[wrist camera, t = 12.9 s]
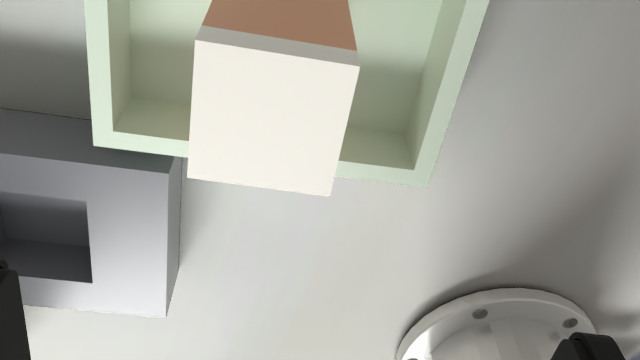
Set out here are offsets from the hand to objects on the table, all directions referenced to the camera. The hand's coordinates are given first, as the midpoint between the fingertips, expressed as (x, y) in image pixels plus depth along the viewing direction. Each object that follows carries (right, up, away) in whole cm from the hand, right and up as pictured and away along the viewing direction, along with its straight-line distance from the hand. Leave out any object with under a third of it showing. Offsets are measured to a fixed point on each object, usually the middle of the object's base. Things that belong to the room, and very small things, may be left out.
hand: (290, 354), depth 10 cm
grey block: (-13, +2, +19) cm, 23 cm away
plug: (-1, +10, +13) cm, 17 cm away
